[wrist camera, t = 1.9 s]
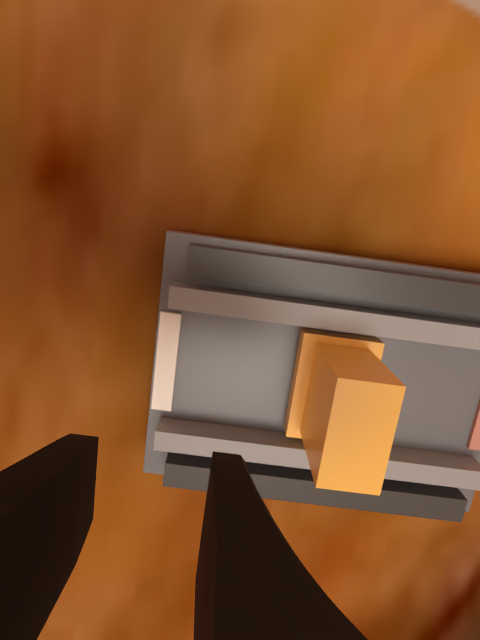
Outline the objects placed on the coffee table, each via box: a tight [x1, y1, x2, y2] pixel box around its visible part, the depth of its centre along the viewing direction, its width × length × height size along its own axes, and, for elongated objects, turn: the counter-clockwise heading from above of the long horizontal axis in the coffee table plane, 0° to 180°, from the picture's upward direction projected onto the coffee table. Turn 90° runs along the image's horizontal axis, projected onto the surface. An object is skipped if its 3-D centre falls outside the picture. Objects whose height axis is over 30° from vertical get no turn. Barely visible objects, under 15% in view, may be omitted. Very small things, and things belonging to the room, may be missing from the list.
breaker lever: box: [284, 328, 406, 496], centre depth 15 cm, size 3×4×4 cm
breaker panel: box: [143, 230, 480, 522], centre depth 17 cm, size 14×10×3 cm
